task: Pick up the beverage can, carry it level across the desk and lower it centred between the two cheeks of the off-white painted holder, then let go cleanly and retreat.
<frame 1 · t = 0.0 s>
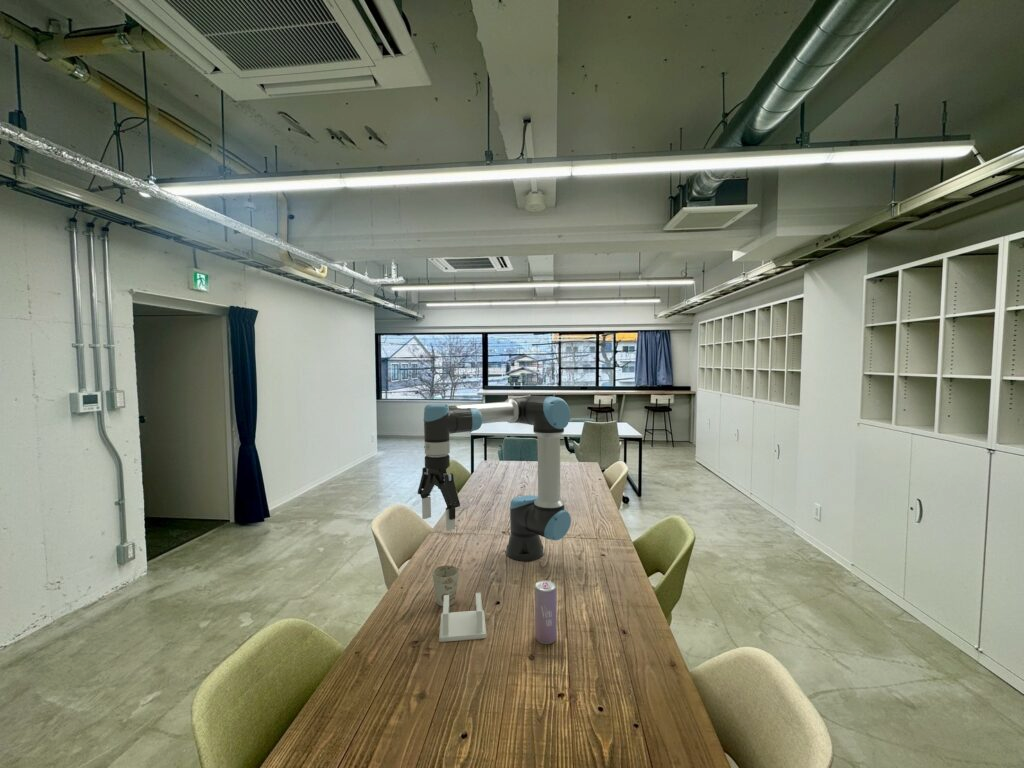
hand: (438, 523, 130), 28 cm above the table, fingers open, 13 cm apart
mug: (445, 598, 140), on the table
beverage can: (545, 639, 118), on the table
holder: (462, 627, 124), on the table
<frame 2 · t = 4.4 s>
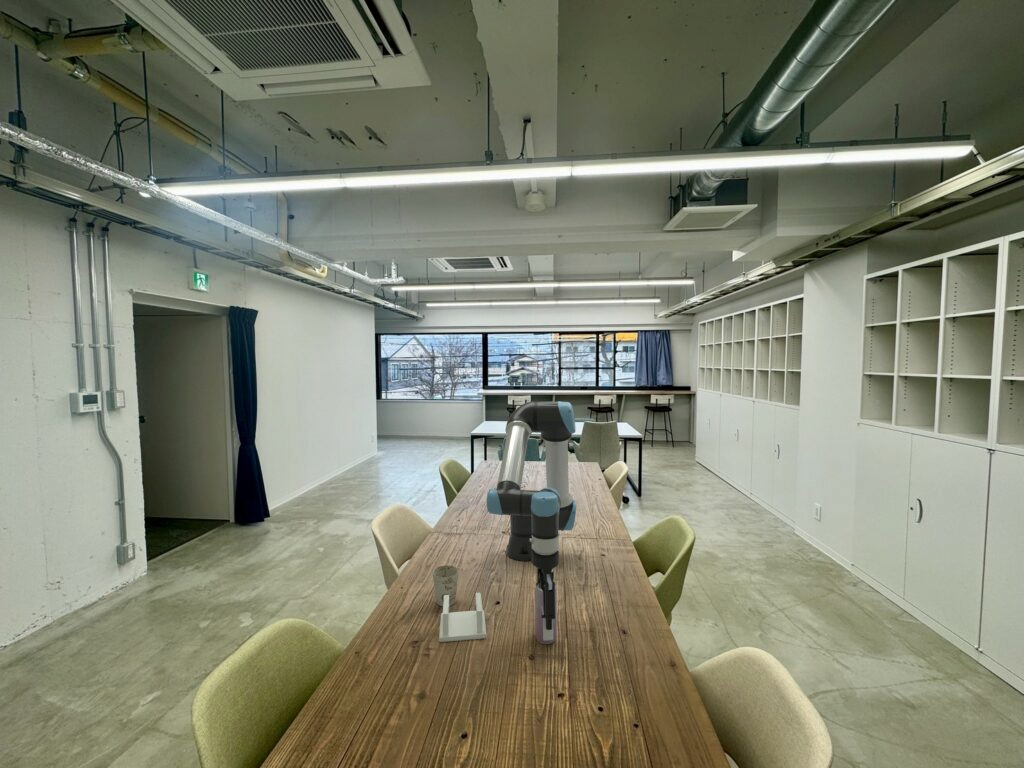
hand: (545, 631, 118), 2 cm above the table, fingers closed on beverage can, 6 cm apart
beverage can: (545, 638, 118), on the table, touching gripper
everything else where it was.
when the fingers open (5 cm above the table, at t = 10.1 s): beverage can drops 2 cm, resting on holder.
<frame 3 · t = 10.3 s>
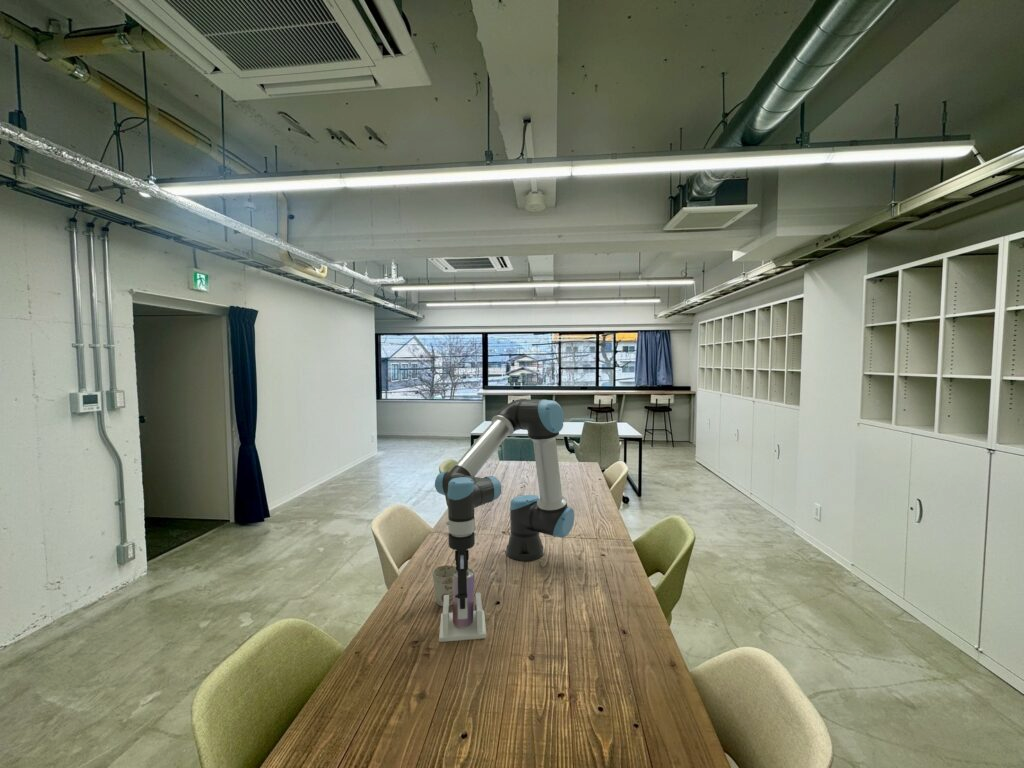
hand: (462, 609, 123), 5 cm above the table, fingers open, 8 cm apart
beverage can: (462, 623, 124), point 1 cm above the table, touching holder
everything else where it was.
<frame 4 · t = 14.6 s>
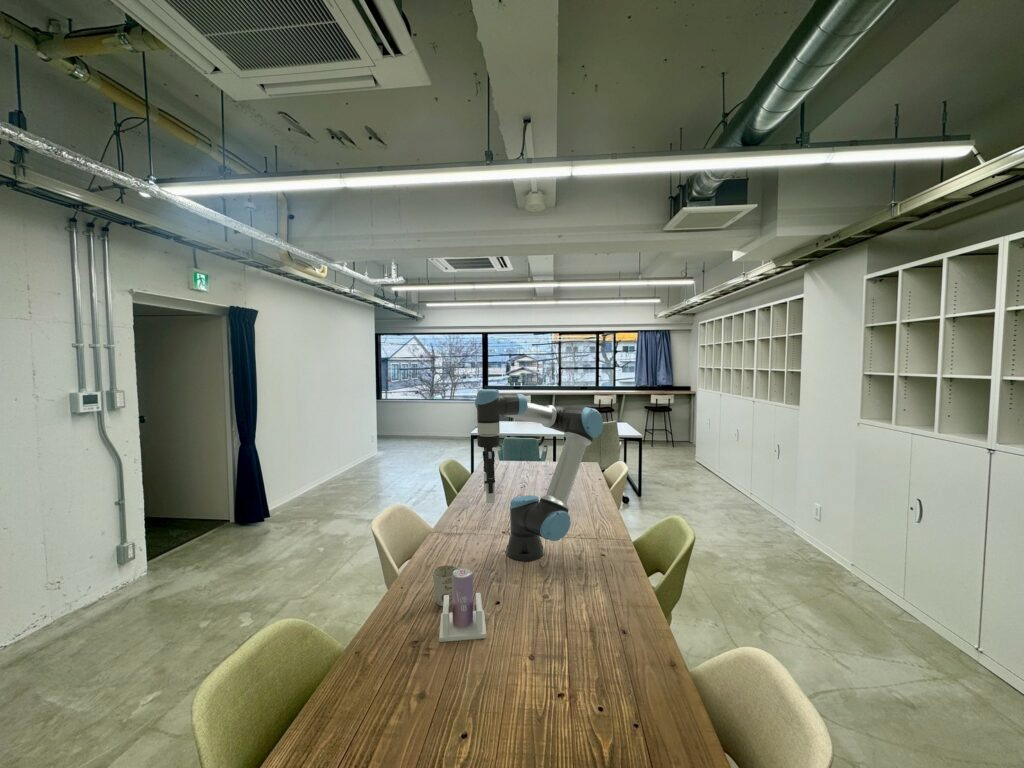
hand: (489, 496, 145), 32 cm above the table, fingers open, 13 cm apart
nothing on the table moved.
at the end: beverage can 0.0 cm off-centre on the holder, point 1.0 cm above the holder's base; beverage can tilted 0°; the gripper is holding nothing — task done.
